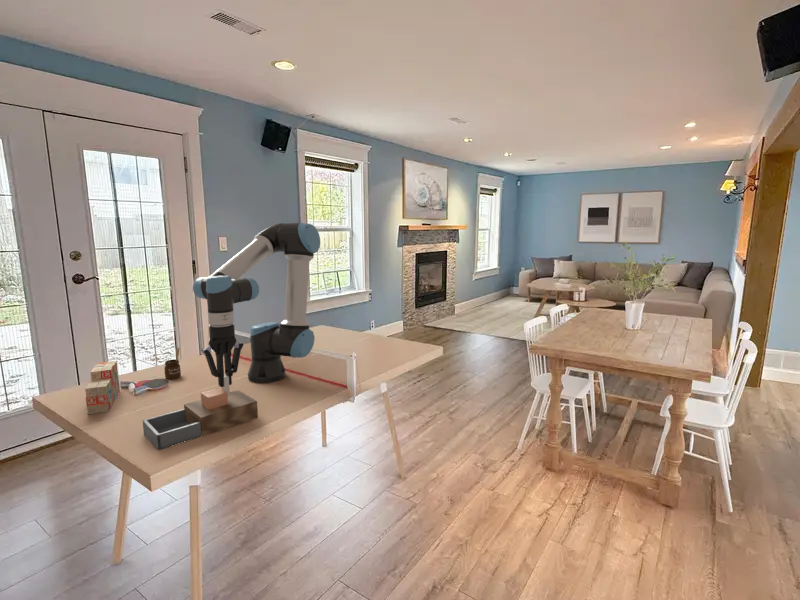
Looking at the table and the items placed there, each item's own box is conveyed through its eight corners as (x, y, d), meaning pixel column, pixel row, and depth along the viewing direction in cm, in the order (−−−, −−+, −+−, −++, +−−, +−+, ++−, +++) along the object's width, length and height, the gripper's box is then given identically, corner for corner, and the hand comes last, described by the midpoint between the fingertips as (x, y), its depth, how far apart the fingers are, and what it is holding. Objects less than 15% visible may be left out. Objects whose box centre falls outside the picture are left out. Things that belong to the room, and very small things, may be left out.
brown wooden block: (239, 406, 153) (238, 390, 152) (258, 418, 143) (257, 401, 142) (185, 421, 140) (183, 404, 139) (202, 436, 130) (200, 417, 129)
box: (184, 422, 140) (183, 408, 139) (201, 436, 130) (200, 422, 130) (143, 433, 132) (142, 420, 131) (158, 450, 122) (157, 435, 121)
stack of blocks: (109, 412, 148) (105, 377, 146) (87, 415, 145) (83, 380, 144) (120, 391, 167) (116, 360, 165) (100, 393, 165) (97, 362, 163)
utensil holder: (162, 377, 182) (159, 350, 180) (176, 373, 187) (174, 346, 185) (169, 380, 179) (167, 352, 177) (184, 376, 184) (182, 348, 182)
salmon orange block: (220, 399, 143) (219, 387, 143) (228, 404, 139) (227, 392, 139) (201, 404, 139) (200, 392, 139) (209, 409, 135) (208, 397, 134)
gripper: (205, 329, 131) (210, 403, 134) (246, 323, 140) (250, 393, 143) (195, 325, 136) (200, 397, 139) (236, 320, 145) (239, 387, 149)
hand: (225, 395), depth 141 cm, fingers closed
